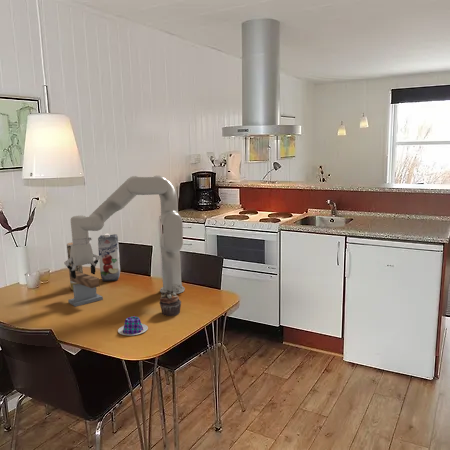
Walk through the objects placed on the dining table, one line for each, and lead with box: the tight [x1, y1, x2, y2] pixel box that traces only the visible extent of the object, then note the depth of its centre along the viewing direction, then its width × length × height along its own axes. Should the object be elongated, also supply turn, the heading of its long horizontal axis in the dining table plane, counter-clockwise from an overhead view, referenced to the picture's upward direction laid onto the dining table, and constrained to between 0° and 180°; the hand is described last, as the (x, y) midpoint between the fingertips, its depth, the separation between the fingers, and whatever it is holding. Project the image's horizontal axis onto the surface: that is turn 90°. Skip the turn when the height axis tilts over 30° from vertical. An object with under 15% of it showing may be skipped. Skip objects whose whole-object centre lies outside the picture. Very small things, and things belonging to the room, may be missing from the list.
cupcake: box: [159, 290, 182, 317], centre depth 193 cm, size 10×10×10 cm
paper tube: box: [66, 241, 84, 291], centre depth 230 cm, size 7×7×25 cm
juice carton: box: [97, 233, 121, 282], centre depth 245 cm, size 9×10×27 cm
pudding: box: [117, 315, 149, 336], centre depth 176 cm, size 12×12×5 cm
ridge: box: [67, 284, 104, 308], centre depth 212 cm, size 8×14×9 cm, turn 131°
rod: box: [68, 271, 100, 288], centre depth 211 cm, size 20×4×4 cm, turn 48°
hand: (83, 275), depth 210 cm, fingers open, 9 cm apart
